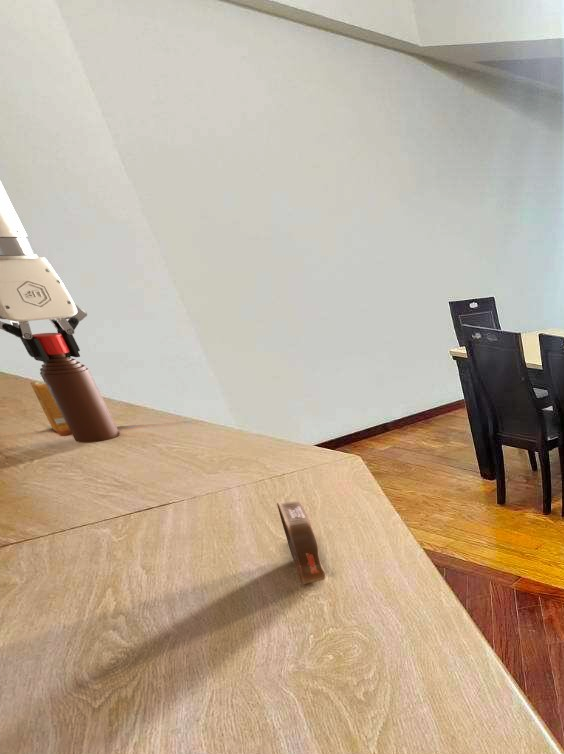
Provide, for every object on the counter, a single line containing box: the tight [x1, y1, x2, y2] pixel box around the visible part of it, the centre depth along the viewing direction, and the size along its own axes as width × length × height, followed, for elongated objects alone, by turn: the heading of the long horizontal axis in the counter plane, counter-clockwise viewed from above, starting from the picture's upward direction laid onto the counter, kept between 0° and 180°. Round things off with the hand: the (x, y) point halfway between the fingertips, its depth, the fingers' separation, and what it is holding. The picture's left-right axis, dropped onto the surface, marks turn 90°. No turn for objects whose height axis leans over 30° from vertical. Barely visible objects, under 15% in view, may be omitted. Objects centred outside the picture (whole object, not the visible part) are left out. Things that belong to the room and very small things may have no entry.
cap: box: [32, 332, 70, 355], centre depth 108 cm, size 4×4×3 cm
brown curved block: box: [276, 500, 327, 586], centre depth 77 cm, size 15×3×8 cm, turn 40°
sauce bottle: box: [39, 353, 121, 443], centre depth 113 cm, size 6×6×19 cm
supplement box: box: [30, 381, 72, 437], centre depth 116 cm, size 3×3×10 cm
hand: (57, 357), depth 110 cm, fingers closed on cap, 3 cm apart
